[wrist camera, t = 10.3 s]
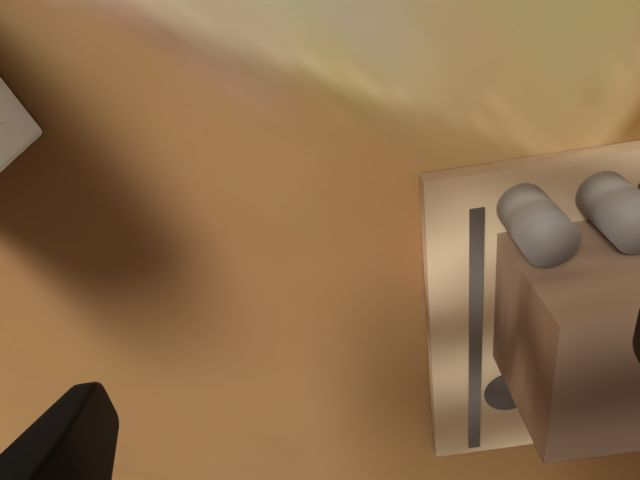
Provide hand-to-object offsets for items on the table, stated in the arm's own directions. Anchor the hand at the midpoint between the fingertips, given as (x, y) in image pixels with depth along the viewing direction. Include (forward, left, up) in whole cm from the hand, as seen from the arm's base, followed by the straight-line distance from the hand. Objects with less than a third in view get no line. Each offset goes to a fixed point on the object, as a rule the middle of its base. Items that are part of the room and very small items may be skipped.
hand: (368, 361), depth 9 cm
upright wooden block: (-9, -9, -12) cm, 18 cm away
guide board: (-12, -9, -13) cm, 20 cm away
